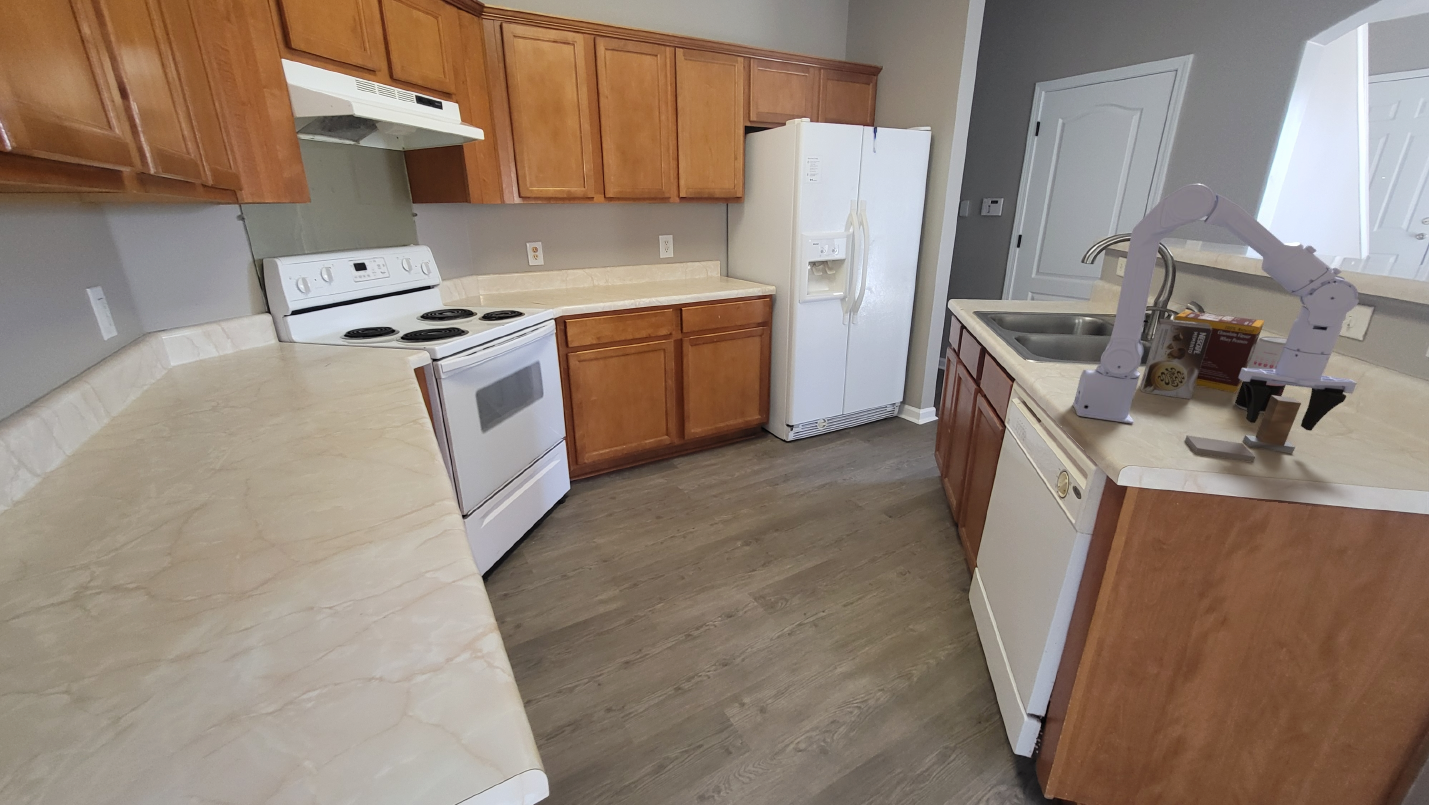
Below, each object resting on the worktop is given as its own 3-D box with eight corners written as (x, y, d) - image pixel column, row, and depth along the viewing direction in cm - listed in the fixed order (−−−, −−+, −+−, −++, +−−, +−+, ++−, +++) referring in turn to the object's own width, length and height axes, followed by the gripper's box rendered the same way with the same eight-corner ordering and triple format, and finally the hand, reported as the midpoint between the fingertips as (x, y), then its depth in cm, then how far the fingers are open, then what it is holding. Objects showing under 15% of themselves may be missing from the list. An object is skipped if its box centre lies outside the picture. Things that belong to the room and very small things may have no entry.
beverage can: (1244, 401, 125) (1269, 334, 120) (1281, 411, 120) (1309, 342, 115) (1227, 405, 123) (1251, 337, 118) (1264, 415, 117) (1291, 345, 112)
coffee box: (1187, 392, 131) (1210, 322, 125) (1190, 400, 126) (1214, 328, 120) (1139, 384, 135) (1158, 317, 130) (1140, 392, 130) (1161, 322, 125)
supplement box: (1236, 393, 131) (1260, 326, 125) (1155, 377, 141) (1174, 314, 136) (1242, 384, 137) (1266, 320, 132) (1165, 369, 148) (1183, 309, 143)
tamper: (1249, 447, 103) (1267, 399, 99) (1242, 440, 105) (1260, 393, 102) (1292, 453, 100) (1312, 404, 97) (1284, 447, 103) (1304, 399, 100)
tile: (1184, 443, 105) (1194, 456, 100) (1186, 435, 104) (1197, 447, 99) (1238, 451, 102) (1252, 465, 97) (1241, 443, 101) (1255, 456, 96)
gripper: (1262, 350, 95) (1234, 425, 100) (1379, 361, 90) (1344, 440, 94) (1245, 340, 101) (1220, 412, 106) (1354, 351, 96) (1322, 425, 101)
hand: (1277, 424), depth 101 cm, fingers open, 7 cm apart
